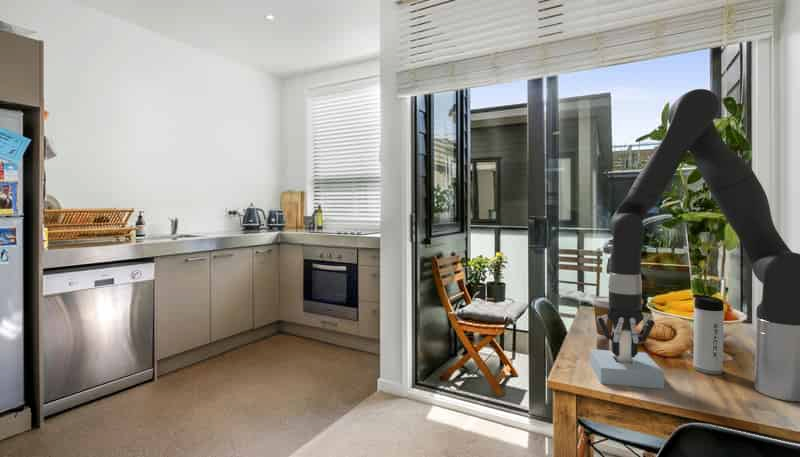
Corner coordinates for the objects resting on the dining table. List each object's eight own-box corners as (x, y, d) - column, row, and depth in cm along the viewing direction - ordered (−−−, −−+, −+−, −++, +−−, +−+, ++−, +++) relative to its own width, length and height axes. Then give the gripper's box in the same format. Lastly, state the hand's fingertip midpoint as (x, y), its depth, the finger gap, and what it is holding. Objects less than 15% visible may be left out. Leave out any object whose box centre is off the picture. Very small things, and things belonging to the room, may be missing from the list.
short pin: (607, 353, 125) (607, 336, 124) (610, 357, 121) (610, 340, 121) (595, 352, 125) (595, 336, 125) (597, 356, 122) (598, 339, 122)
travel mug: (694, 363, 115) (695, 292, 114) (724, 370, 110) (726, 295, 110) (689, 370, 111) (690, 296, 110) (720, 377, 106) (722, 299, 105)
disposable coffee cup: (623, 331, 146) (623, 297, 145) (621, 339, 138) (622, 303, 137) (593, 327, 151) (593, 295, 150) (590, 335, 142) (590, 300, 142)
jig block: (645, 367, 113) (645, 352, 113) (664, 388, 100) (664, 372, 100) (589, 363, 117) (590, 349, 117) (600, 383, 103) (601, 367, 103)
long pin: (629, 365, 110) (629, 328, 109) (633, 370, 106) (633, 332, 106) (615, 364, 110) (615, 327, 110) (618, 369, 107) (618, 331, 107)
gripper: (598, 292, 105) (598, 358, 106) (660, 294, 102) (659, 363, 103) (592, 286, 113) (592, 349, 114) (650, 288, 109) (649, 352, 110)
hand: (624, 355), depth 108 cm, fingers closed on long pin, 3 cm apart
